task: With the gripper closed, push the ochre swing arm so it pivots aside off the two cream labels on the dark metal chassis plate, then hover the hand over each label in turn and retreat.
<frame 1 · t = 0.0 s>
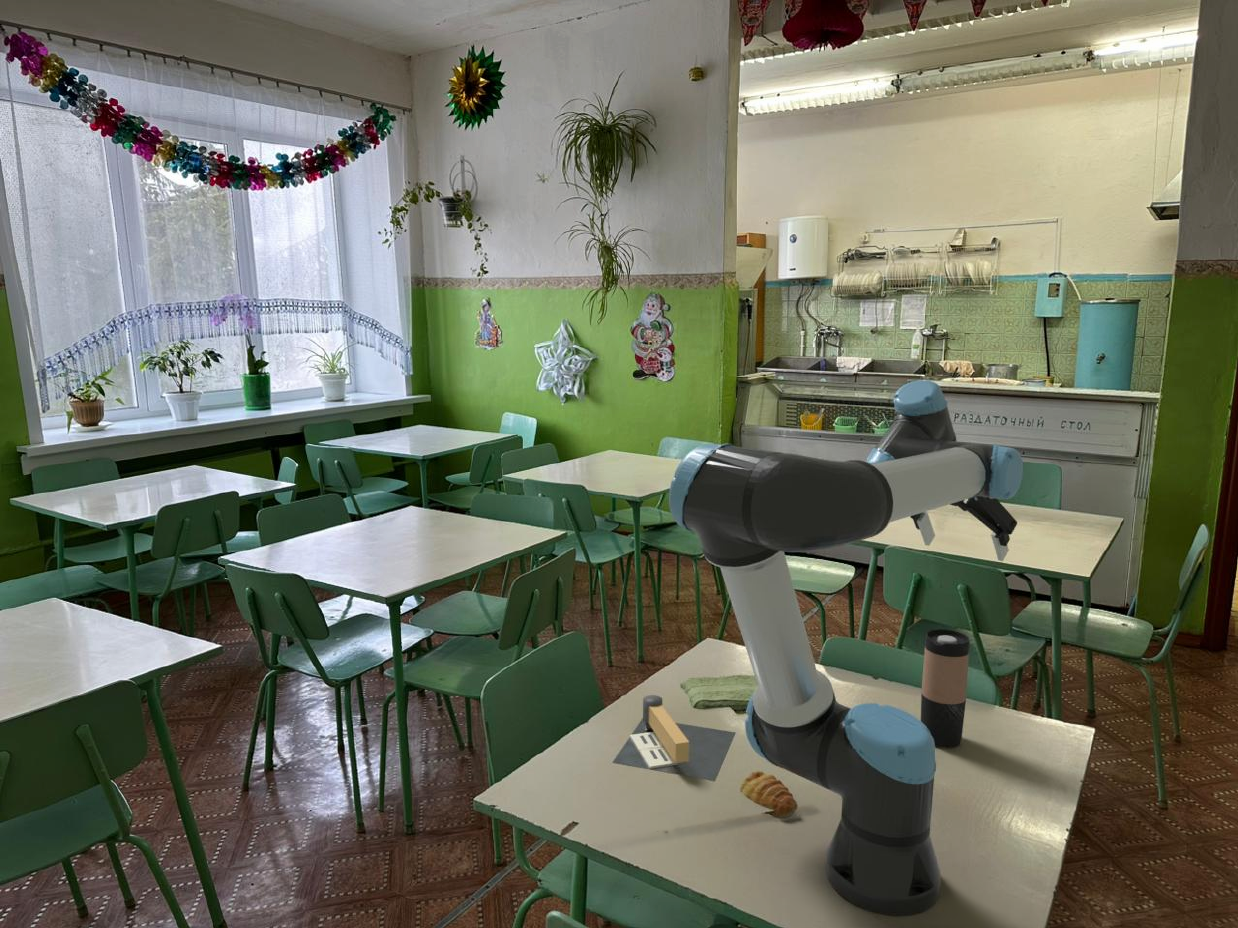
hand: (965, 547, 152), 36 cm above the table, tool tilted 35°, fingers open, 13 cm apart
label two: (657, 757, 146), resting on chassis plate
pastry: (767, 803, 135), on the table
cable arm: (665, 726, 149), point 5 cm above the table, hinge at 0.0°
tennis ball: (780, 722, 162), on the table
travel mug: (940, 739, 155), on the table
label one: (647, 742, 151), resting on chassis plate
chassis plate: (676, 752, 150), on the table
washcloth: (726, 700, 172), on the table
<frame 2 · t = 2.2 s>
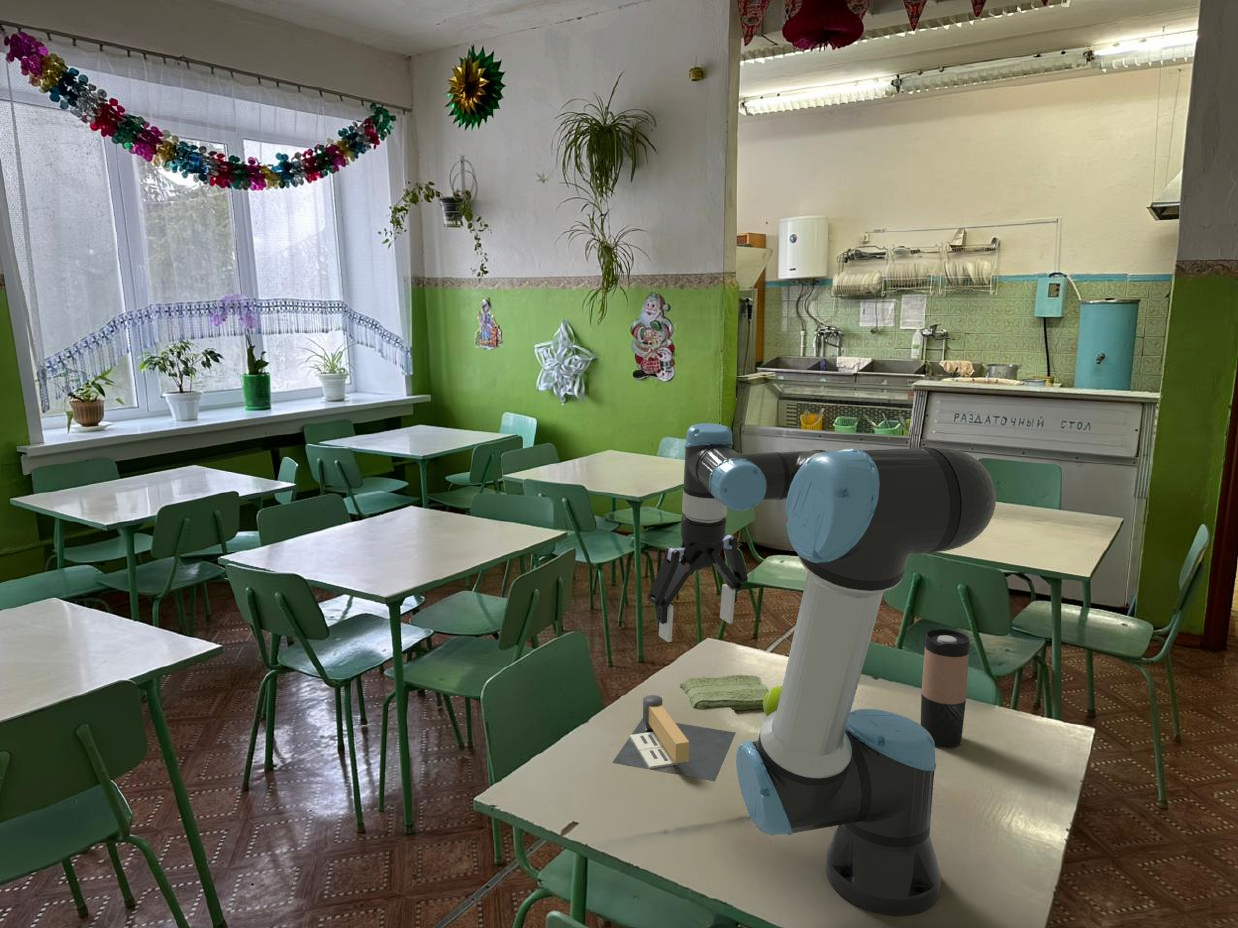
hand: (696, 629, 147), 23 cm above the table, tool pointing down, fingers open, 13 cm apart
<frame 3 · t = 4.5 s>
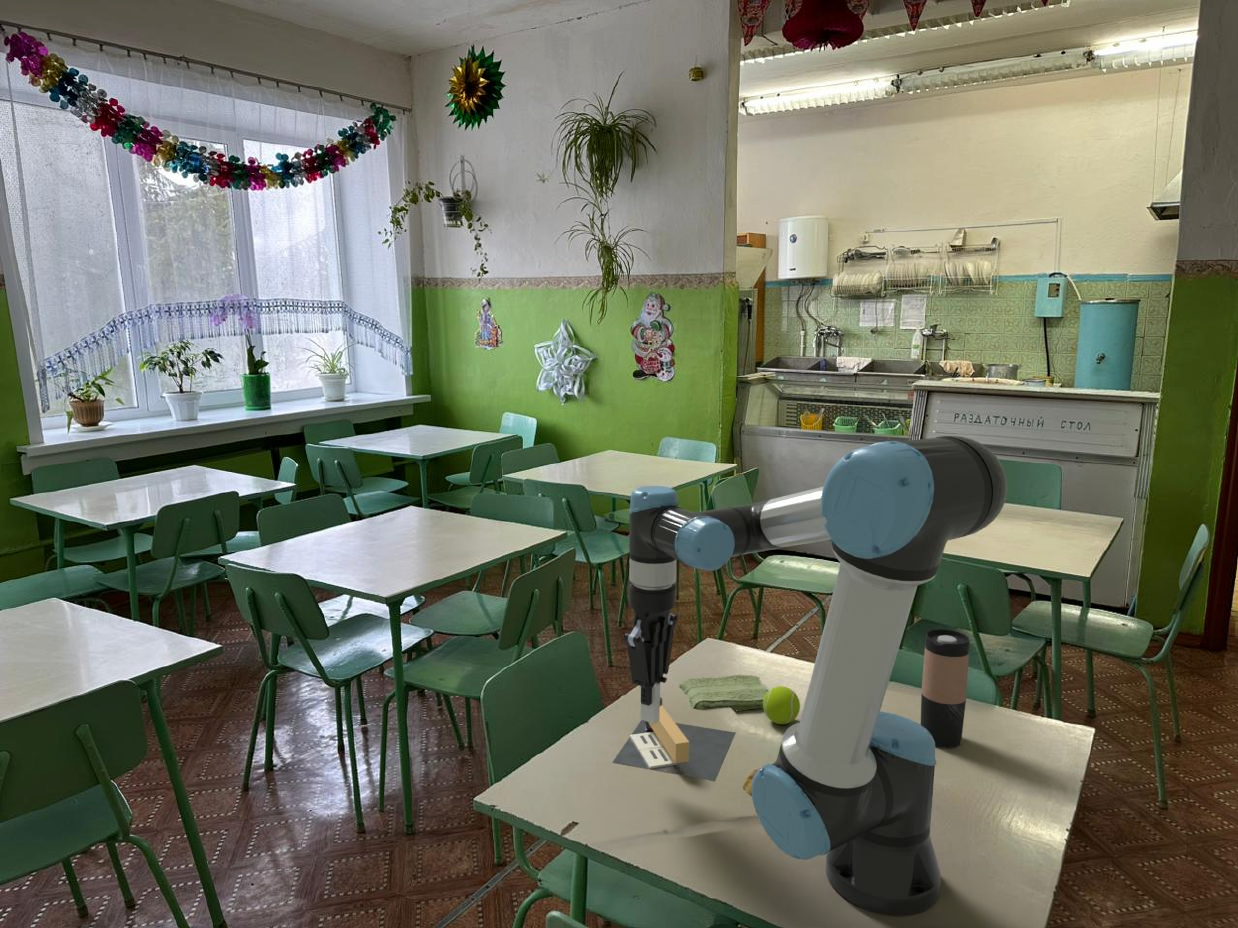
hand: (649, 719, 138), 12 cm above the table, tool pointing down, fingers closed
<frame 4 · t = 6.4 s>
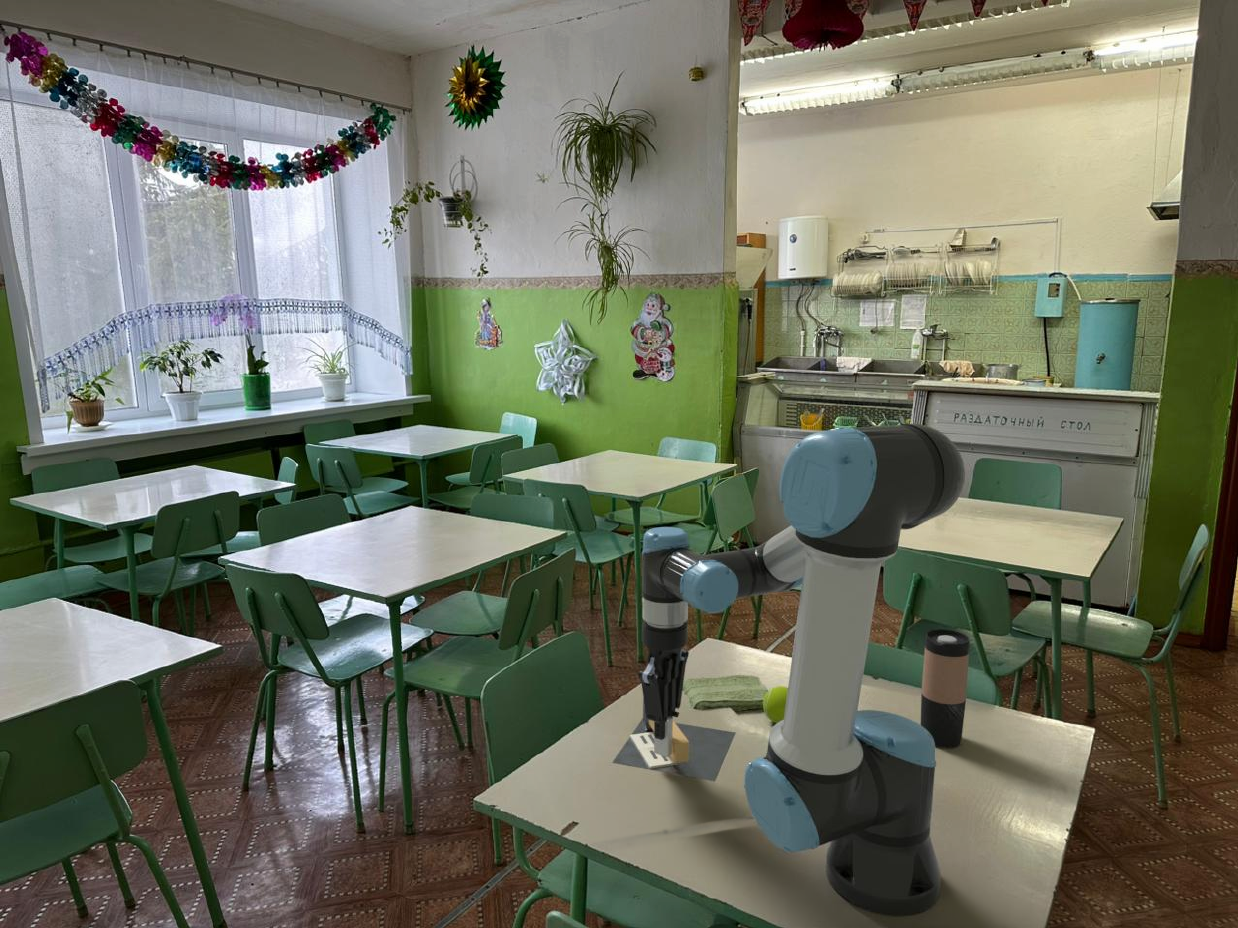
hand: (663, 753, 142), 4 cm above the table, tool pointing down, fingers closed
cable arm: (665, 726, 149), point 5 cm above the table, hinge at 0.0°, touching gripper
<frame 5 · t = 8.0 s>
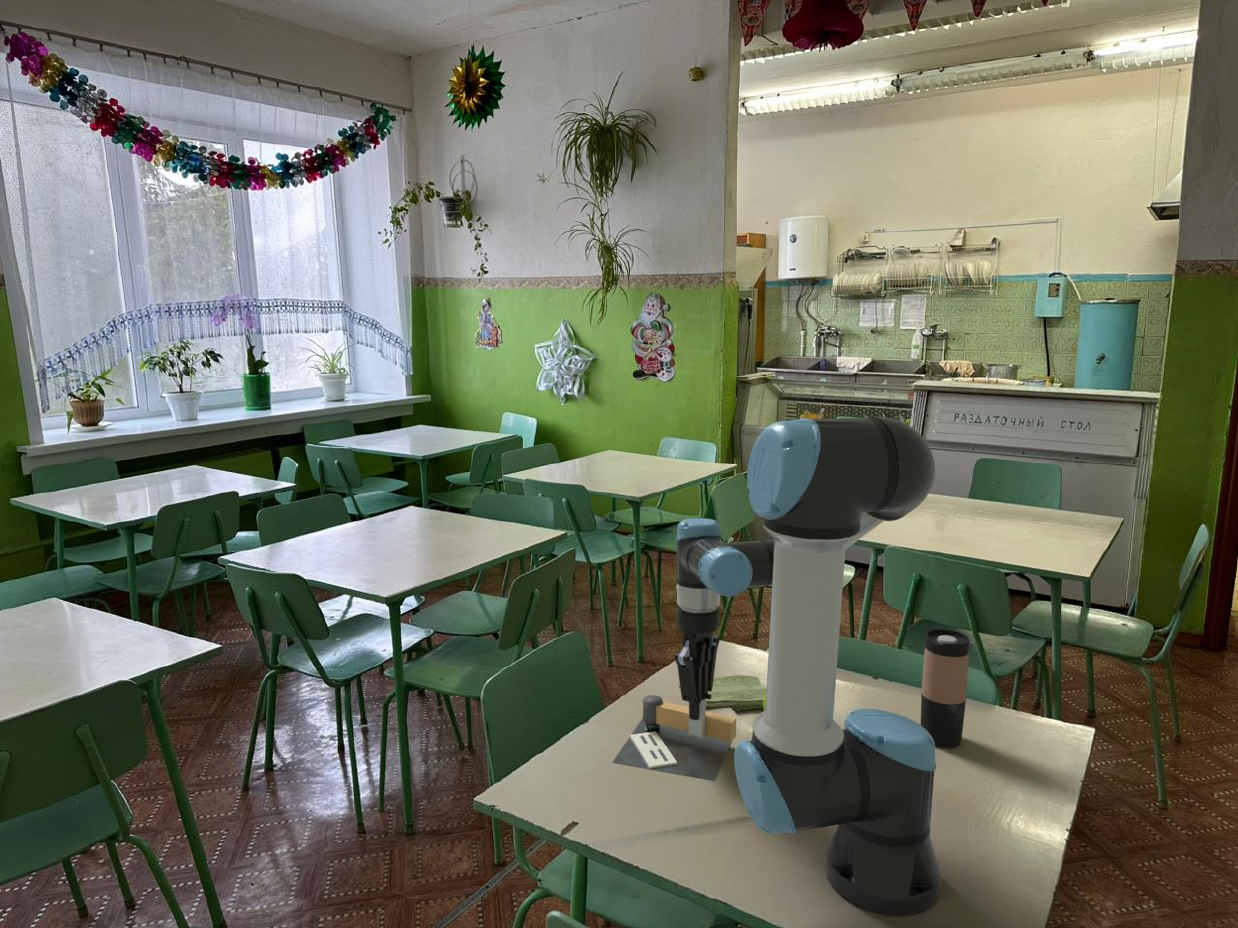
hand: (697, 734, 150), 3 cm above the table, tool pointing down, fingers closed
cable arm: (687, 717, 152), point 5 cm above the table, hinge at 46.1°, touching gripper
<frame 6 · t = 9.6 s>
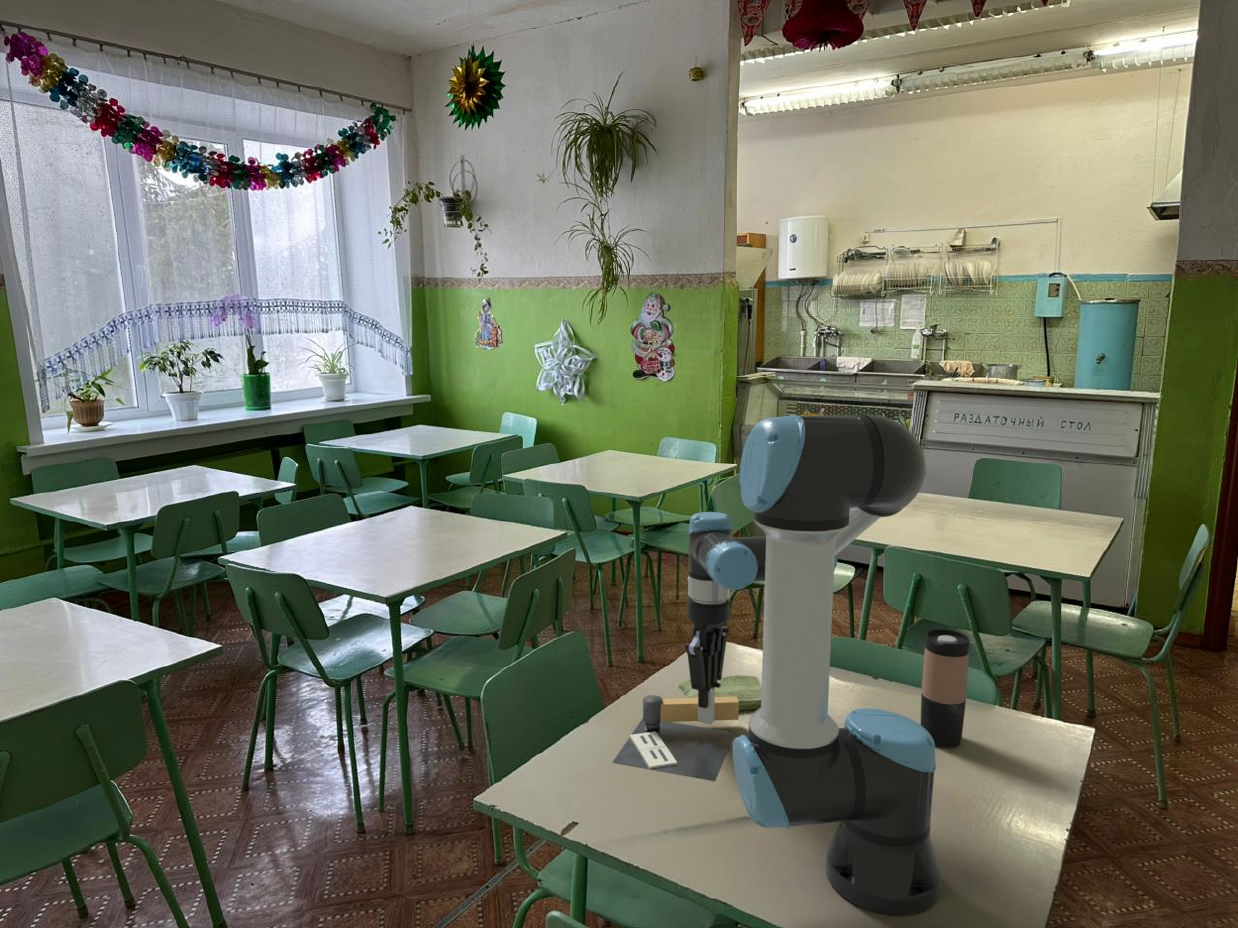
hand: (705, 721, 154), 4 cm above the table, tool pointing down, fingers closed
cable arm: (690, 708, 156), point 5 cm above the table, hinge at 78.2°, touching gripper
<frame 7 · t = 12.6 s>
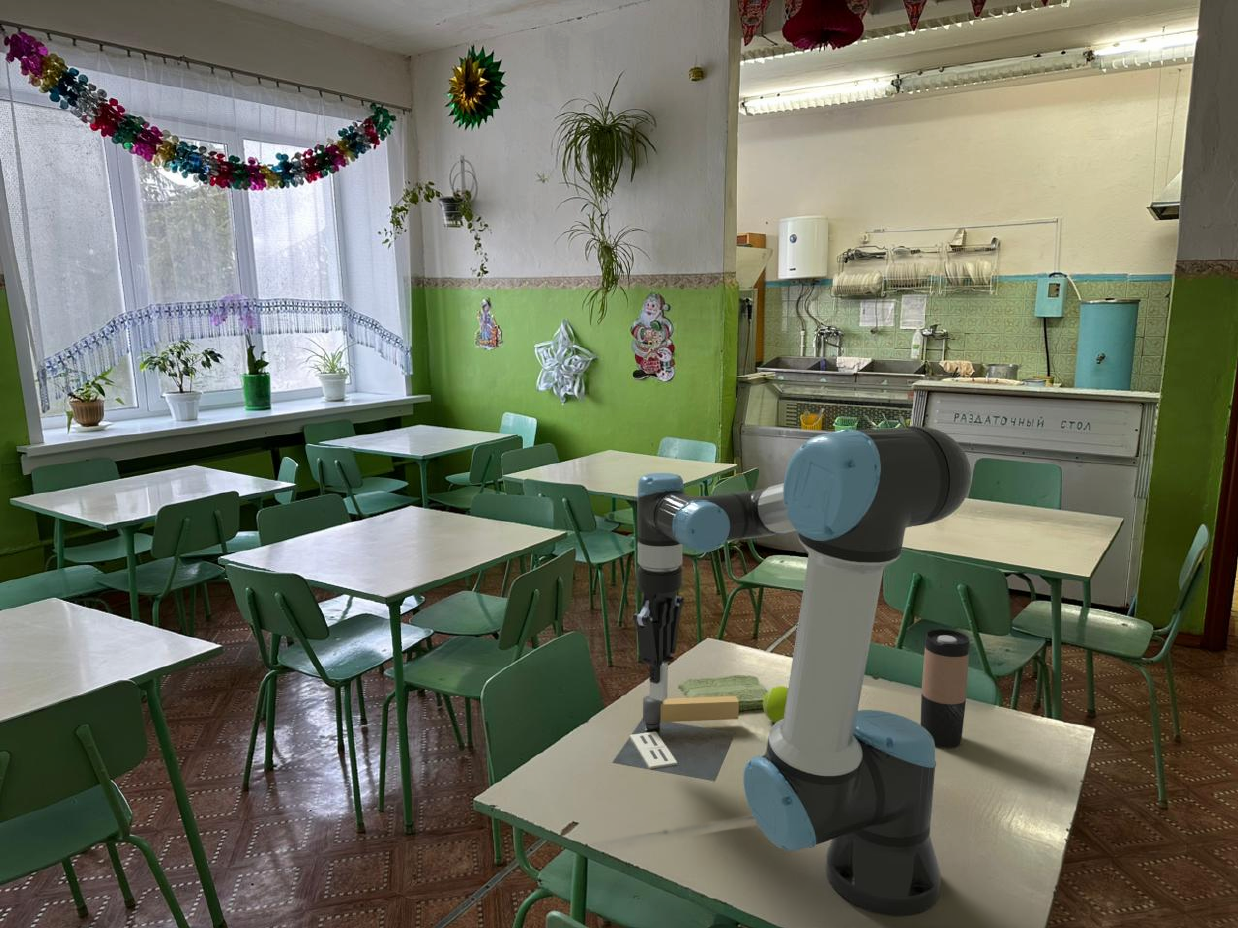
hand: (658, 697, 144), 12 cm above the table, tool pointing down, fingers closed
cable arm: (690, 707, 156), point 5 cm above the table, hinge at 79.0°
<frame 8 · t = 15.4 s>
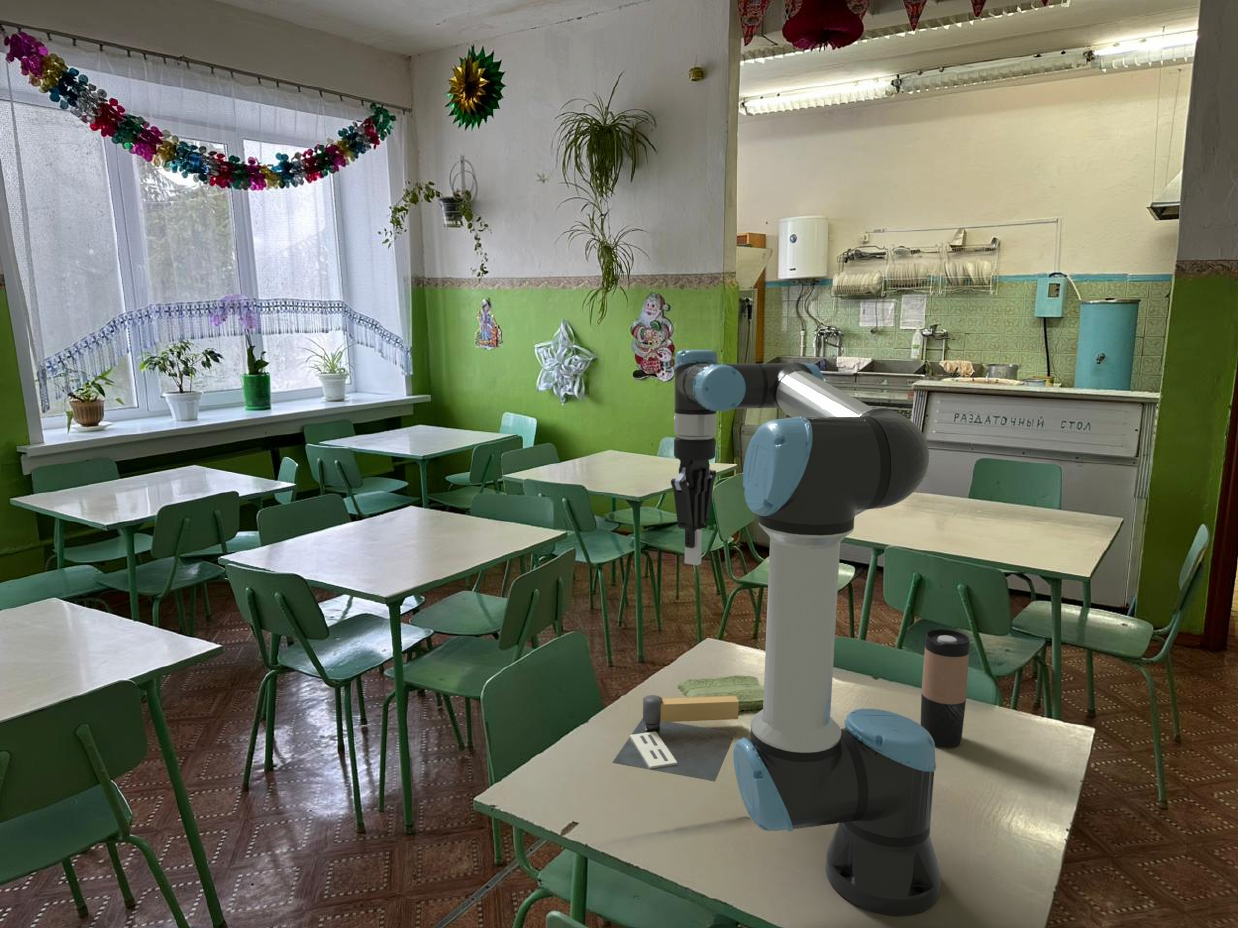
hand: (692, 563, 154), 32 cm above the table, tool pointing down, fingers closed
at the end: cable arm at +79° (first picture: +0°) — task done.
